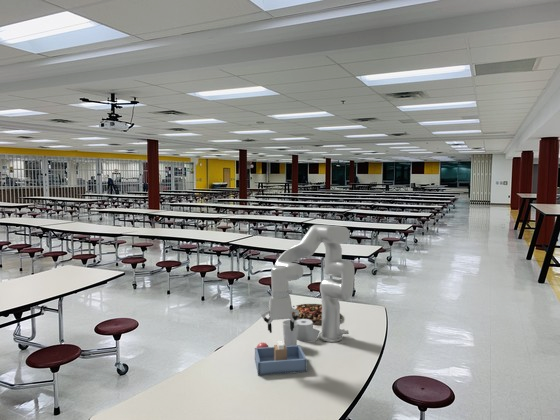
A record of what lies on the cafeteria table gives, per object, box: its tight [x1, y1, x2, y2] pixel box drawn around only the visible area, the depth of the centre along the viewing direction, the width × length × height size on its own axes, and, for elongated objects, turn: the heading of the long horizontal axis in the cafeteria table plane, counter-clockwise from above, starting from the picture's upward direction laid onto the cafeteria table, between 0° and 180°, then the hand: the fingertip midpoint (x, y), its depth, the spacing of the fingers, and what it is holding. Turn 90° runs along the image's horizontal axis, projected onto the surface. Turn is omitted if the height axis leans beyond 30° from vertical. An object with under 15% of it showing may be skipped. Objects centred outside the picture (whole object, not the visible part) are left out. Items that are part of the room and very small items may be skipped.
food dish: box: [292, 303, 343, 326], centre depth 239 cm, size 35×33×8 cm
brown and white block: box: [273, 340, 287, 361], centre depth 175 cm, size 5×5×9 cm
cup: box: [282, 319, 298, 346], centre depth 196 cm, size 8×8×12 cm
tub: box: [254, 344, 308, 377], centre depth 175 cm, size 21×15×6 cm
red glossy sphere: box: [256, 342, 269, 348], centre depth 185 cm, size 6×6×6 cm
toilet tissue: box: [296, 319, 321, 343], centre depth 206 cm, size 9×13×9 cm
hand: (281, 330), depth 175 cm, fingers open, 9 cm apart
